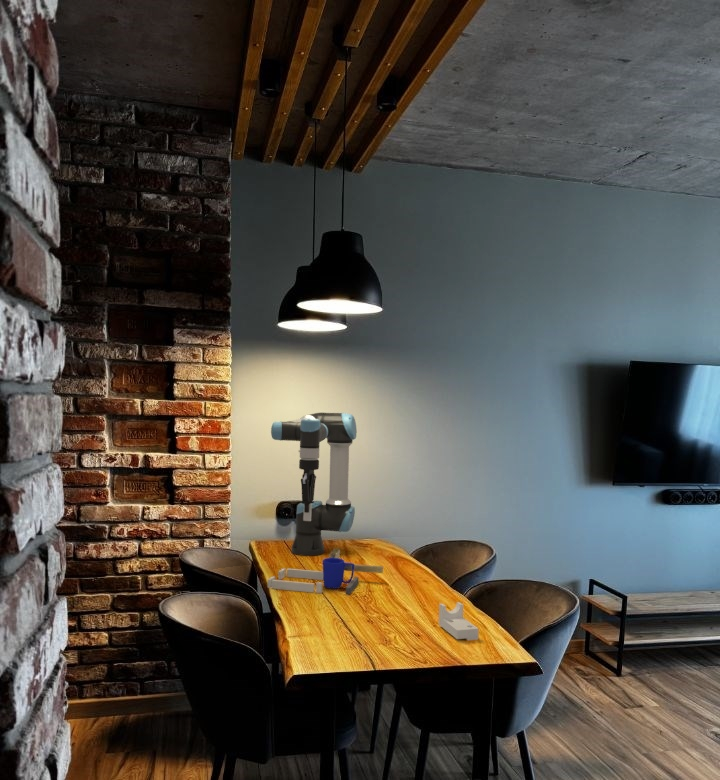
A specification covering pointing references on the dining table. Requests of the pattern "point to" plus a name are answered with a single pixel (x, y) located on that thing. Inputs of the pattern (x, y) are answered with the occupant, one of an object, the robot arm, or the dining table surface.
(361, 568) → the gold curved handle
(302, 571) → the beige rectangular bars
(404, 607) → the dining table surface
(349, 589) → the kerb
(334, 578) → the mug
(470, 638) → the bracket
